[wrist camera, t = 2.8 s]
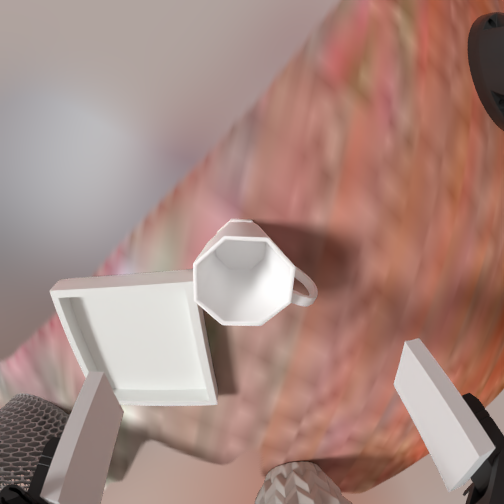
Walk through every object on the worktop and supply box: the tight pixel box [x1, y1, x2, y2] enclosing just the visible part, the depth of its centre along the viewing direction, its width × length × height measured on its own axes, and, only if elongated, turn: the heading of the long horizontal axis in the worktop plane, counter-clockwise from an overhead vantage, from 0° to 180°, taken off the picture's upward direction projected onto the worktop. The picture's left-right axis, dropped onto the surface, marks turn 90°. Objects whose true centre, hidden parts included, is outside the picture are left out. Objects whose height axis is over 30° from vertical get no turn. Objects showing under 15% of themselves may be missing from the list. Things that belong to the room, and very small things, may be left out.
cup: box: [193, 219, 318, 326], centre depth 25 cm, size 7×10×8 cm
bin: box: [50, 269, 218, 406], centre depth 30 cm, size 16×15×2 cm
